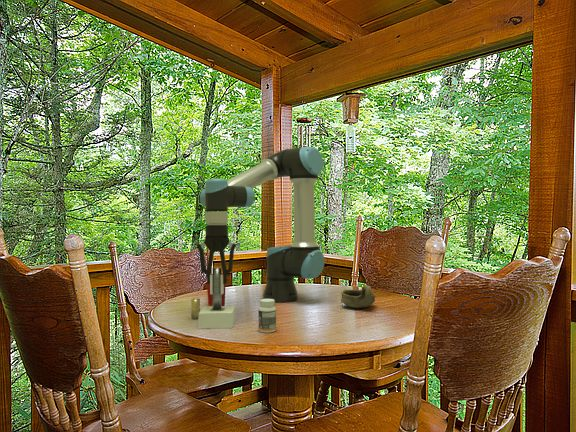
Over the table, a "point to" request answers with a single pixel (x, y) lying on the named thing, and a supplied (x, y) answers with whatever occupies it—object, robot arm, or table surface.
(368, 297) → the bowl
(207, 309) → the hole block
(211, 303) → the paper cup
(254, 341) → the table surface
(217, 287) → the long pin
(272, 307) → the pill bottle
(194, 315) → the short pin
